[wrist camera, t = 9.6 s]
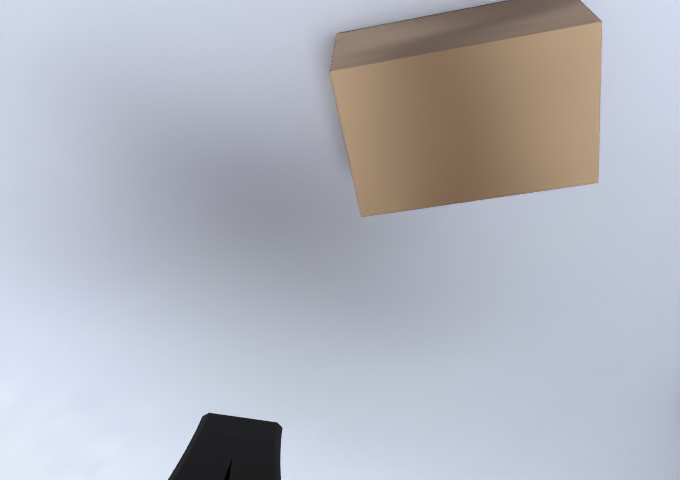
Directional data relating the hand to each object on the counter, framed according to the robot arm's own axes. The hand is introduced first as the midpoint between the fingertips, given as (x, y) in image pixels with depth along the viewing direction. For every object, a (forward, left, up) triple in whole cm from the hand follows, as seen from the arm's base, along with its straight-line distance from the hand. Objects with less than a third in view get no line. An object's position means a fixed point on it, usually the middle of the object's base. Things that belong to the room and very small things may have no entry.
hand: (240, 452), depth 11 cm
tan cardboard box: (-4, -4, -10) cm, 11 cm away
